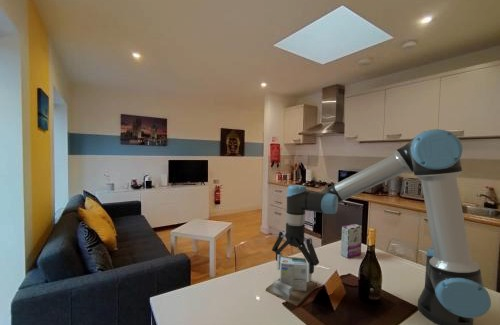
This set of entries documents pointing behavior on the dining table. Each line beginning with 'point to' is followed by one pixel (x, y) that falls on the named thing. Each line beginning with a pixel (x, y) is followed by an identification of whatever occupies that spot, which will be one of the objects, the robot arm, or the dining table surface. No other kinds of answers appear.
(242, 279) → the dining table surface
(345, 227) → the candy bar box
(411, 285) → the dining table surface
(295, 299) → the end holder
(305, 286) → the light bulb box
